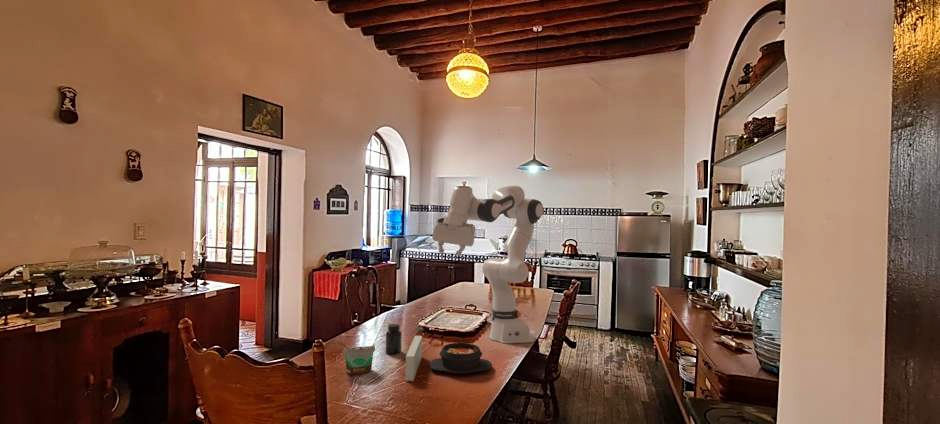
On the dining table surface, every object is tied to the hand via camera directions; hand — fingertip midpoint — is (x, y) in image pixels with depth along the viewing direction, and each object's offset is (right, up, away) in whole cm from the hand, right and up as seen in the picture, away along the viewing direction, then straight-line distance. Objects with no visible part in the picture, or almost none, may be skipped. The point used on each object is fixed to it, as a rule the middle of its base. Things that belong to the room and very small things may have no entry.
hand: (449, 254), depth 185 cm
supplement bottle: (-25, -44, +8) cm, 51 cm away
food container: (-33, -44, -17) cm, 58 cm away
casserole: (+5, -45, -10) cm, 46 cm away
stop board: (-14, -44, -10) cm, 47 cm away
